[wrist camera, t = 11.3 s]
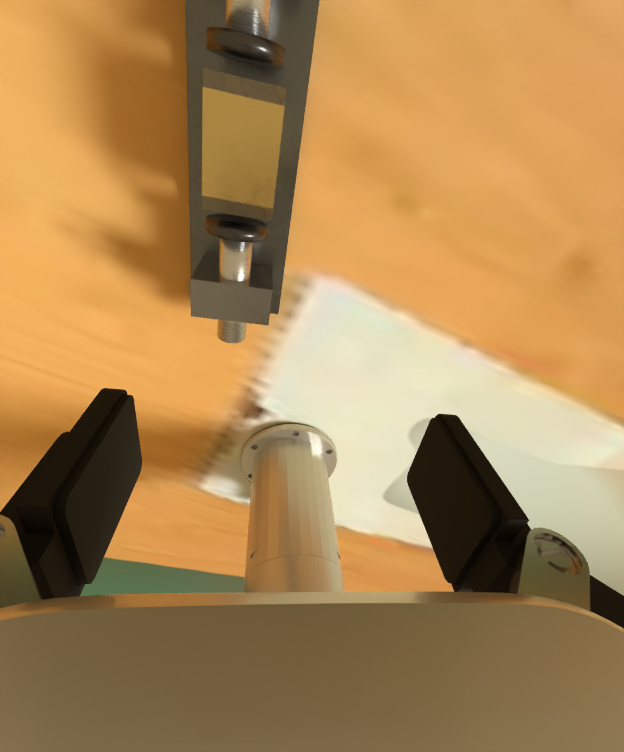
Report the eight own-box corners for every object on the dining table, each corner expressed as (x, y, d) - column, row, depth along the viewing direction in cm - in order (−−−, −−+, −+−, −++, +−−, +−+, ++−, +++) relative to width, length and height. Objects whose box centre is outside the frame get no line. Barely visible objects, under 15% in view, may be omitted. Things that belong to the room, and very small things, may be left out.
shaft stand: (277, 318, 35) (277, 354, 30) (194, 308, 34) (178, 343, 28) (336, -137, 19) (359, -240, 14) (185, -190, 18) (147, -325, 13)
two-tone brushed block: (218, 79, 24) (202, 67, 19) (284, 95, 24) (286, 88, 19) (214, 194, 27) (201, 209, 23) (272, 205, 28) (271, 221, 23)
